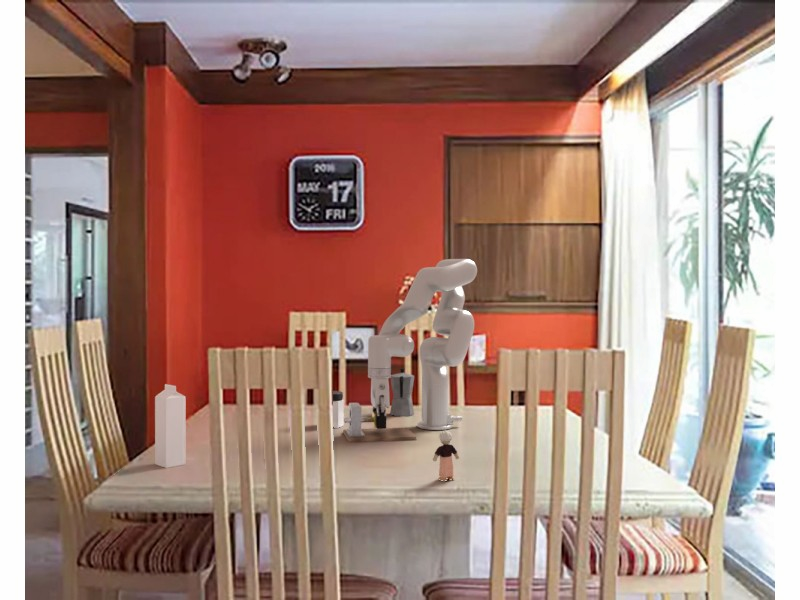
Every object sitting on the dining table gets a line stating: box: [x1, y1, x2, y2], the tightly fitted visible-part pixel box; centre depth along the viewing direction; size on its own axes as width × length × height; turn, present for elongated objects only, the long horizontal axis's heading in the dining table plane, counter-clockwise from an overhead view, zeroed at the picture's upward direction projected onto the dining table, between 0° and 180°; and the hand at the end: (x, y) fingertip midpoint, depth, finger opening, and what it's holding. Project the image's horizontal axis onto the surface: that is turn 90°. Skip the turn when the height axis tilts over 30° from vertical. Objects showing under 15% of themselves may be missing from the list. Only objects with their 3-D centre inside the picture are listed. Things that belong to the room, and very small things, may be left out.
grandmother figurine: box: [432, 430, 460, 481], centre depth 188 cm, size 8×4×13 cm, turn 131°
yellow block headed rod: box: [343, 410, 377, 429], centre depth 240 cm, size 14×5×5 cm, turn 101°
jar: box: [332, 390, 345, 429], centre depth 257 cm, size 9×8×12 cm
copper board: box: [342, 427, 417, 443], centre depth 241 cm, size 22×15×1 cm
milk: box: [154, 383, 187, 469], centre depth 201 cm, size 6×6×22 cm
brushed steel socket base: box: [345, 402, 365, 437], centre depth 240 cm, size 5×10×10 cm, turn 11°
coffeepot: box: [389, 367, 415, 417], centre depth 280 cm, size 15×9×18 cm, turn 178°
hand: (379, 425), depth 241 cm, fingers open, 8 cm apart
